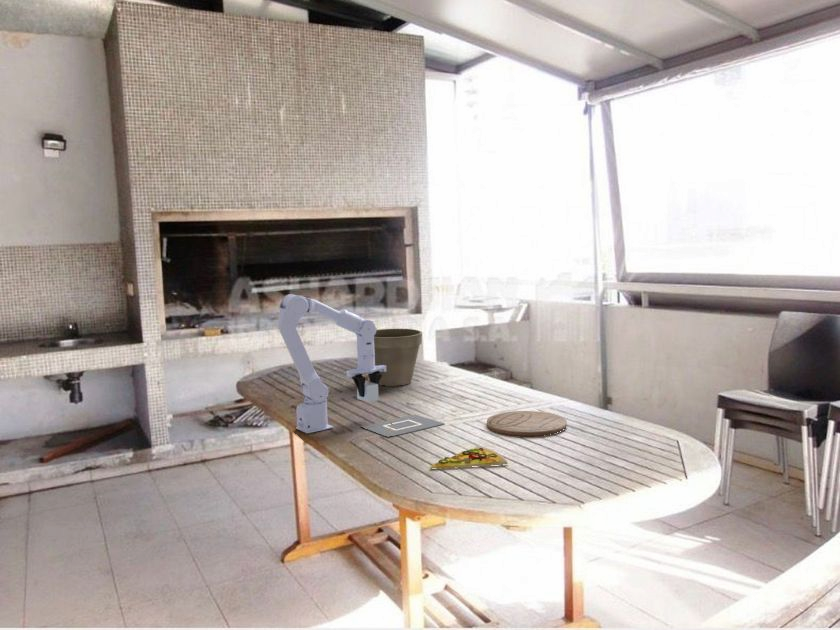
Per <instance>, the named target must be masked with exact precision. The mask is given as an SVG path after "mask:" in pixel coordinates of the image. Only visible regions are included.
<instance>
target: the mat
mask: <svg viewBox="0 0 840 630" xmlns="http://www.w3.org/2000/svg"><path fill="white" fill-rule="evenodd" d="M391 420H393V421H391ZM390 421H391V423H392V424H393V425H392V426H390V425H391V423H390ZM444 425H445V423H444V422H441V421H438V420H434V419H432V418H429V417H425V416H422V415H419V414H411V415H407V416H402V417H397V418H393V419H388V420H384V421H379V422H374V423H370V424H365V425H362V426H360V428H361V427H363V428H365V429H364V430H366V427H367V429H368V430H367V431H369V430H371V431H373V432H372V433H374V432H376V433H378V434H377V435H379V434H381V435H380V436H382V435H385V436H387V435H388V436H390V435H389V434H391V435H393V436H394V437H397V436H396V435H398V436H402V434H403V435H406V433H407V434H410V433H414V431H415V432H418V431H423V430H427V429H431V428H436V427H439V426H444ZM391 427H393V428H391ZM363 428H362V429H363ZM372 428H373V429H372ZM390 428H391V429H392V430H393V431H391V430H390ZM387 429H388V430H387ZM384 430H385V431H384ZM371 431H370V432H371ZM389 431H391V433H390V432H389ZM376 433H375V434H376ZM388 436H387V437H388ZM387 437H386V438H387Z"/></svg>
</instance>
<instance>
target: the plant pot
mask: <svg viewBox="0 0 840 630" xmlns="http://www.w3.org/2000/svg"><path fill="white" fill-rule="evenodd" d="M422 339H423V332H422V330H419V329H413V328H381V329H380V328H379V329H377V331H376V333H375V335H374V351H375V366H380V365H385V366H386V371H385V372H383V371H382V372H380V373H382V377H381V379H380V381H379V386H382V385H385V386H384V387H401V386H400V385H402V386H406V384H407V385H409V384H411V382H412V381H413V376H414V372H415V368H416V363H417V358H418V355H419V349H420V345H421V344H422V343H423V340H422ZM398 385H399V386H398Z"/></svg>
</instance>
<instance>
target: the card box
mask: <svg viewBox="0 0 840 630" xmlns="http://www.w3.org/2000/svg"><path fill="white" fill-rule="evenodd" d="M364 390H365V395H364V397H361V396H359V392H358V389H357V388H356V397H357V398H356V399H357V400H360V401H363V402H366V403H372V402H373V403H374V402H378V401H379V400H380V399H379V398H380V397H379V388H378V384H376V383H372V382H369V381H365V386H364Z"/></svg>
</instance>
